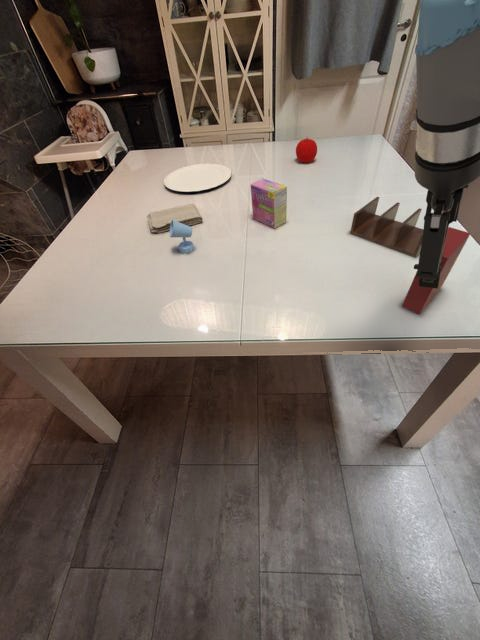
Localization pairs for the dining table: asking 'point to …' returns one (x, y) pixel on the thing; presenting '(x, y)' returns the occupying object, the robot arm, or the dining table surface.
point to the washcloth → (173, 217)
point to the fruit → (306, 150)
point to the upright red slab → (452, 248)
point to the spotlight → (182, 231)
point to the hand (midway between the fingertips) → (438, 251)
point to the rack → (388, 228)
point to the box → (269, 202)
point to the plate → (197, 177)
